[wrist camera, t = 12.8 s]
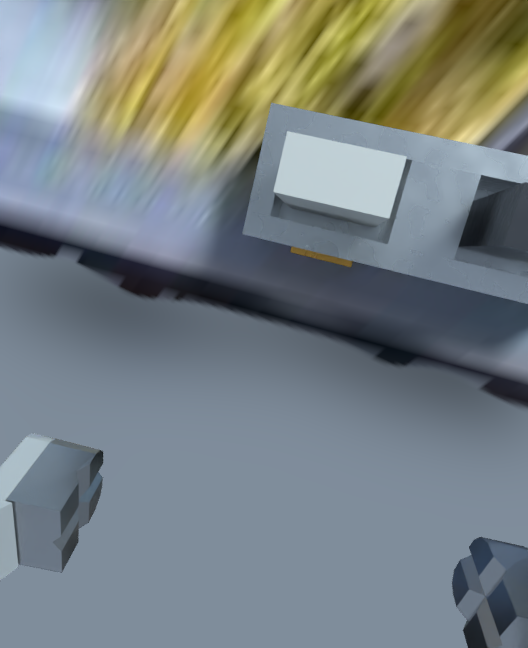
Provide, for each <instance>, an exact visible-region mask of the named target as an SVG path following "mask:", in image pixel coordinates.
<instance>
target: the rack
mask: <svg viewBox="0 0 528 648" xmlns="http://www.w3.org/2000/svg"><path fill="white" fill-rule="evenodd" d="M287 131H289V132H294V133H298V134H303V135H308V136H313V137H317V138H322V139H327V140H332V141H336V142H341V143H346V144H350V145H355V146H360V147H365V148H369V149H374V150H379V151H383V152H388V153H393V154H398V155H402V156H407V159H406V162H405V166H404V169H403V172H402V176H401V179H400V183H399V186H398V190H397V193H396V197H395V200H394V204H393V207H392V211H391V214H390V218H389V219H388V220H386V221H384V222H383V223H381V224H379V225H378V226H376V227H374V228H373V227H369V226H364V225H360V224H356V223H352V222H347V221H343V220H339V219H334V218H330V217H326V216H322V215H317V214H313V213H309V212H304V211H300V210H296V209H292V208H290V207H289V206H288V205H287V204H286V203H285V202H284V201H282V200H281V199H280V198H279V197H278V196H277V195H276V194H275V193H274V192H273V191H274V187H275V182H276V178H277V174H278V169H279V165H280V161H281V156H282V152H283V148H284V143H285V139H286V135H287ZM242 234H244V235H248V236H252V237H256V238H260V239H264V240H268V241H272V242H276V243H280V244H284V245H289V246H292V247H291V253H295V254H299V255H303V256H307V257H311V258H316V259H320V260H324V261H328V262H332V263H336V264H340V265H344V266H348V267H351V266H352V262H353V261H354V262H358V263H362V264H366V265H370V266H374V267H378V268H383V269H387V270H391V271H395V272H399V273H403V274H407V275H411V276H415V277H419V278H423V279H427V280H432V281H436V282H440V283H444V284H448V285H452V286H456V287H460V288H464V289H468V290H472V291H477V292H481V293H485V294H489V295H493V296H497V297H501V298H505V299H509V300H513V301H517V302H521V303H526V304H528V156H525V155H521V154H516V153H511V152H506V151H501V150H496V149H492V148H487V147H482V146H477V145H472V144H467V143H463V142H458V141H453V140H448V139H443V138H438V137H434V136H429V135H424V134H419V133H414V132H409V131H404V130H400V129H395V128H390V127H385V126H380V125H375V124H371V123H366V122H361V121H356V120H351V119H346V118H342V117H337V116H332V115H327V114H322V113H317V112H313V111H308V110H303V109H298V108H293V107H288V106H284V105H279V104H274V103H271V107H270V111H269V116H268V120H267V125H266V129H265V134H264V138H263V143H262V147H261V152H260V156H259V161H258V165H257V170H256V174H255V179H254V183H253V188H252V192H251V197H250V201H249V206H248V210H247V215H246V219H245V224H244V228H243V233H242Z"/></svg>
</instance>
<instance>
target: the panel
mask: <svg viewBox="0 0 528 648" xmlns="http://www.w3.org/2000/svg"><path fill="white" fill-rule="evenodd" d="M406 159H407V156H402V155H398V154H393V153H388V152H383V151H379V150H374V149H369V148H365V147H360V146H355V145H350V144H346V143H341V142H336V141H332V140H327V139H322V138H317V137H313V136H308V135H303V134H298V133H294V132H289V131H287V135H286V139H285V143H284V148H283V152H282V156H281V161H280V165H279V169H278V174H277V178H276V182H275V187H274V191H273V192H274V193H275V194H276V195H277V196H278V197H279V198H280V199H281V200H282V201H284V202H285V203H286V204H287V205H288V206H289V207H290V208H292V209H296V210H300V211H304V212H309V213H313V214H317V215H322V216H326V217H330V218H334V219H339V220H343V221H347V222H352V223H356V224H360V225H364V226H369V227H373V228H374V227H376V226H378V225H379V224H381V223H383V222H384V221H386V220H388V219H389V218H390V214H391V211H392V207H393V204H394V200H395V197H396V193H397V190H398V186H399V183H400V179H401V176H402V172H403V169H404V166H405V162H406Z"/></svg>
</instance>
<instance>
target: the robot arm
mask: <svg viewBox="0 0 528 648" xmlns="http://www.w3.org/2000/svg"><path fill="white" fill-rule="evenodd" d="M102 464H103V451H101V450H98V449H94V448H90V447H86V446H82V445H78V444H74V443H71V442H67V441H63V440H59V439H54V438H50V437H46V436H42V435H38V434H34V433H32V434H30V435H29V436H27V437H25V438H24V439H23V441H21V443H20V444H19V445H18V446H17V447H16V448H15V450H14V451H13V452H12V453H11V454H10V455H9V457H8V458H7V459H6V460H5V461H4V462H3V464H2V465H1V466H0V581H1V580H2V579H3V578H5V577H6V576H7V575H9V574H10V573H11V572H13V571H14V570H15V569H17V568H18V564H20V565H25V566H30V567H36V568H41V569H45V570H50V571H55V572H61V573H62V571H63V569H64V568H65V566H66V564H67V562H68V560H69V558H70V556H71V555H72V553H73V551H74V549H75V547H76V545H77V543H78V534H79V528H81V527H82V526H84V525H85V524H87V523H89V521H90V519H91V517H92V515H93V513H94V511H95V509H96V506H97V503H98V501H99V498H100V494H101V489H102V481H103V478H102V476H101V475H100V473H99V472H98V471H99V470H100V468H101V466H102ZM469 549H470V552H471V555H470V556H468V557H466V558H464V559H461V560H460V561H459V563H458V564H457V566H456V568H455V569H454V574H453V581H452V587H453V595H454V599H455V603H456V607H457V608H458V609H459V611H460V612H461V613H462V615H463V616H464V617H465V618H466V619H467V621H466V624H465V626H464V629H463V632H464V635H465V639H466V642H467V646H468V648H528V548H526V547H524V546H519V545H515V544H510V543H506V542H501V541H497V540H492V539H488V538H483V537H479V538H477V539H475V540H474V541H473V542H472V543H471V545H470V546H469Z"/></svg>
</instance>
